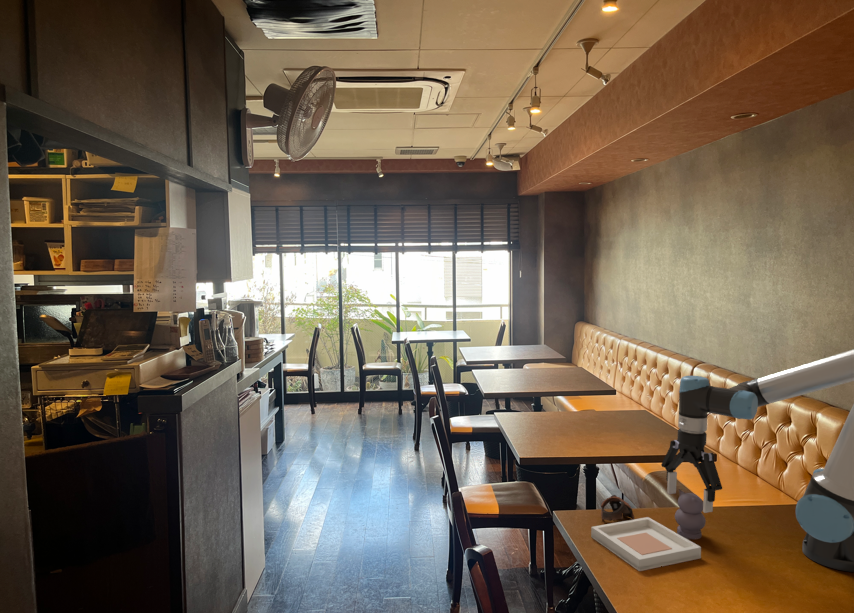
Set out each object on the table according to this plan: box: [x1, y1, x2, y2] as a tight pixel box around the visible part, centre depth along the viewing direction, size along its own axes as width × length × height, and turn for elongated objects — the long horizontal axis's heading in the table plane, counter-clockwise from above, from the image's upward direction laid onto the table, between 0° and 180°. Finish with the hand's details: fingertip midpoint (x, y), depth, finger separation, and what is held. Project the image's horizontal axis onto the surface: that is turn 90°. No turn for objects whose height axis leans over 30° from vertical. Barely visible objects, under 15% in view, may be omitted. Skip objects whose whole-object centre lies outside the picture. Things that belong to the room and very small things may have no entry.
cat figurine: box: [674, 489, 706, 540], centre depth 164 cm, size 8×8×12 cm
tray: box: [590, 516, 702, 572], centre depth 156 cm, size 20×20×3 cm
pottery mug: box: [600, 494, 635, 522], centre depth 174 cm, size 12×10×8 cm
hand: (688, 502), depth 164 cm, fingers open, 13 cm apart
